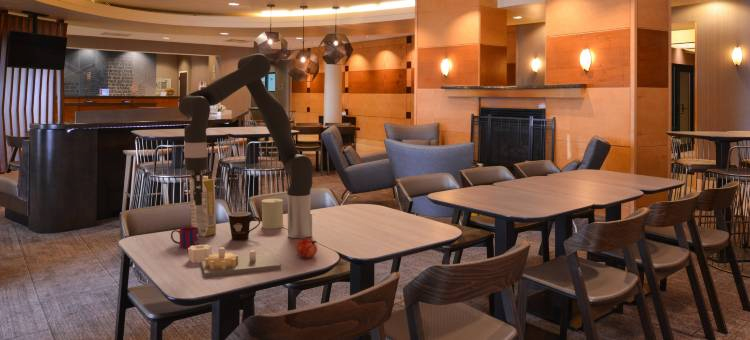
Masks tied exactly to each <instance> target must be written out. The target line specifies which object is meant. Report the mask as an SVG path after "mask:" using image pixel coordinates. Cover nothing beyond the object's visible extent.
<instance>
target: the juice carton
mask: <svg viewBox="0 0 750 340" xmlns="http://www.w3.org/2000/svg"><path fill="white" fill-rule="evenodd" d="M215 188H216V187H215V179H214V178H213V179H212V178H209V176H208V175H203V188H202V190H203V193H202V205H195V201H194V198H193V189H192V185H191V179H189V200H190V223H191V224H190V227H197V228H198V236H199V237H202V238H203V237H204V238H206V237H210V236H213V235H215V234H217V217H216V214H217V213H216V193H215V192H216V189H215Z"/></svg>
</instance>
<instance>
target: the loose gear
mask: <svg viewBox="0 0 750 340" xmlns="http://www.w3.org/2000/svg"><path fill="white" fill-rule="evenodd" d="M187 250H188V262H191V263H192V264H195V263H198V264H199V263H202V262H201V260H205V258H208V256H209V255H213V254H212V245H209V244H199V245H195V246H190V248H188V249H187Z"/></svg>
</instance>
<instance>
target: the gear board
mask: <svg viewBox="0 0 750 340" xmlns="http://www.w3.org/2000/svg"><path fill="white" fill-rule="evenodd" d="M217 250H218V253H215V254H212V255H209V256H208V258H205V260H201V262H200V263H201V269H202V271H203V275H204V278H214V277H223V276H230V275H231V276H232V275H240V274H241V275H242V274H250V273H258V272H267V271H268V272H269V271H277V270H281V269H282V265H281V263H280V262H279V260H278V259H277V257H276V256H275V254H274V253H273V252H272V253H271V252H270V253H263V254H261V253H260V254H257V251H256V250H253V249H252V250H250V251H248V252H249V255H244V256H239V255H238V254H237V255H236V254H234V253H232V252H228V253H227V252H226V249H225V247H222V246H221V247H218V249H217Z"/></svg>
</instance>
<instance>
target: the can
mask: <svg viewBox="0 0 750 340" xmlns="http://www.w3.org/2000/svg"><path fill="white" fill-rule="evenodd" d="M283 201H284V200H283V199H282V198H264V199H262V200H261V218H262V220H261V227H262V228H263V229H266V230H277V229H280V228H283V227H284V204H283V203H284V202H283Z"/></svg>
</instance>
